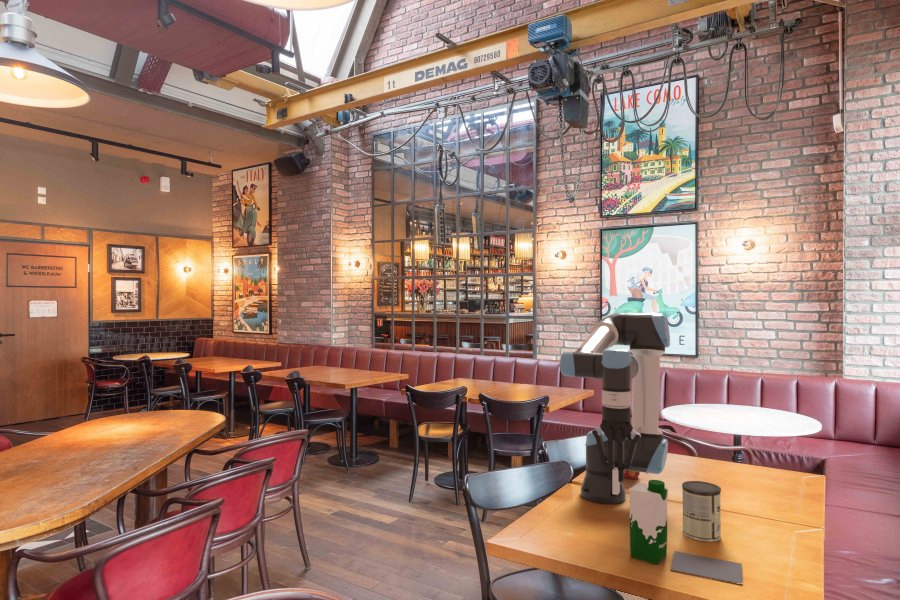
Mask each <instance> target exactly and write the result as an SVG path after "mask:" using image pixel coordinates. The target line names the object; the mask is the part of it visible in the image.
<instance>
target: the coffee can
mask: <svg viewBox="0 0 900 600" xmlns="http://www.w3.org/2000/svg"><path fill="white" fill-rule="evenodd" d="M681 486H682V534H683V535H684V536H686V537H688V538H689V539H692V540H695V541H700V542H705V543H707V542H709V543H712V542H719V541H720V540H721V539H722V536H721V531H722V530H721V526H722V524H721V522H722V521H721V519H722V518H721V492H722V489H721V487H720V486H719V485H717V484H715V483H711V482H707V481H702V480H700V481H699V480H688V481H685V482H682V484H681Z"/></svg>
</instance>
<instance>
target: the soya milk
mask: <svg viewBox="0 0 900 600" xmlns="http://www.w3.org/2000/svg"><path fill="white" fill-rule="evenodd" d="M665 485H666V484H665V482H664V481H662V480H659V479H650V480H648V483H645V482H638V483H636V484H635V485H633V486H631V487H630V488H629V489H628V492H629V493H628V495H629V497H628V498H629V549H630V551H629V552H630V558H633V559H636V558H637V560H639V559H641V560H640V561H643V560H644V561H643V562H646V561H647V562H646V563H650V564H654V565H659V564H660V563H661V562H662V561H663V560H665V558H666V557H667V553H668V552H667V550H668V498H669V488H668V487H665Z"/></svg>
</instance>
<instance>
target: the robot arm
mask: <svg viewBox="0 0 900 600" xmlns="http://www.w3.org/2000/svg"><path fill="white" fill-rule="evenodd" d="M668 323H669V322H668V319H667V317H666V315H665V314H663V313H658V312H651V311H650V312H616V313H613V314H609V315H608V316H605V317H603V318H601V319H599V320H598V321H597V322H595V324H594V325H593V326H592V328H591V329H590V334H589V335H588V336H587V337H586V339H584V340H583V342H582V343H581V345H579V347H578V348H577V349H576V350H575V351H573V350H571V351H564V352H562V354H561V355H560V358H559V368H560V369H559V370H560V373H561V374H562V376H565V377H572V378H579V379H580V378H581V379H583V378H584V379H585V378H586V379H601V381H602V382H601V384H602V387H601V403H602V405H603V406H602V407H601V423H600V425H599V427H597V428H594V429H592V430H589V432H587V434H586V437H585V438H586V440H585V444H584V445H585V473H584V474H585V475H584V478H583V481H582V483H581V486H580V496H581V497H582V499H585V500H587V501H590V502H593V503H596V504H597V503H598V504H605V505H607V504H609V505H611V504H613V505H614V504H620V503H623V502H625V501H626V498H627V497H626V496H627V493H626V492H627V491H626V489H625V485H624V483H623V482H624V479H625V478H624V470H630V471H637V472H640V473H645V474H646V475H647V474H648V475H649V474H651V475H653V474H654V475H659V474H660V475H661V473H662V472H663V471H664V469H665V466H666V463H667V462H666V461H667V456H668V451H669V441H668V439H666V438H664V432H662V430H661V429H660V427H659V423H660V421H659V420H660V419H659V417H660V416H659V415H660V376H661V375H660V372H661V357H662V356H663V355H664V354H665V352H666V348H669V347H670V346H671V336H670V328H669V324H668ZM614 346H628V347H629V350H628V349H623V348H612V347H614ZM632 380H633V381H632ZM631 381H632V382H631ZM631 383H632V385H631ZM631 386H632V388H631ZM631 389H632V391H631ZM631 404H632V406H631ZM630 406H631V407H632V409H631V407H630Z"/></svg>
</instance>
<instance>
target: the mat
mask: <svg viewBox="0 0 900 600" xmlns="http://www.w3.org/2000/svg"><path fill="white" fill-rule="evenodd" d="M670 571H671V572H674V571H677V572H676V573H679V572H682V573H681V574H684V573H687V574H686V575H689V574H691V575H690V576H694V575H697V576H696V577H699V576H702V577H701V578H704V577H706V578H705V579H709V578H712V579H711V580H714V579H717V580H716V581H719V580H722V581H721V582H724V581H727V582H726V583H729V582H734V583H740V584H741V583H743V584H744V581H743V565H742V562H735V561H731V560H725V559H719V558H714V557H708V556H705V555H699V554H694V553H687V552H681V551H677V550H674V551H673V555H672V560H671V566H670ZM734 583H733V584H734Z"/></svg>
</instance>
